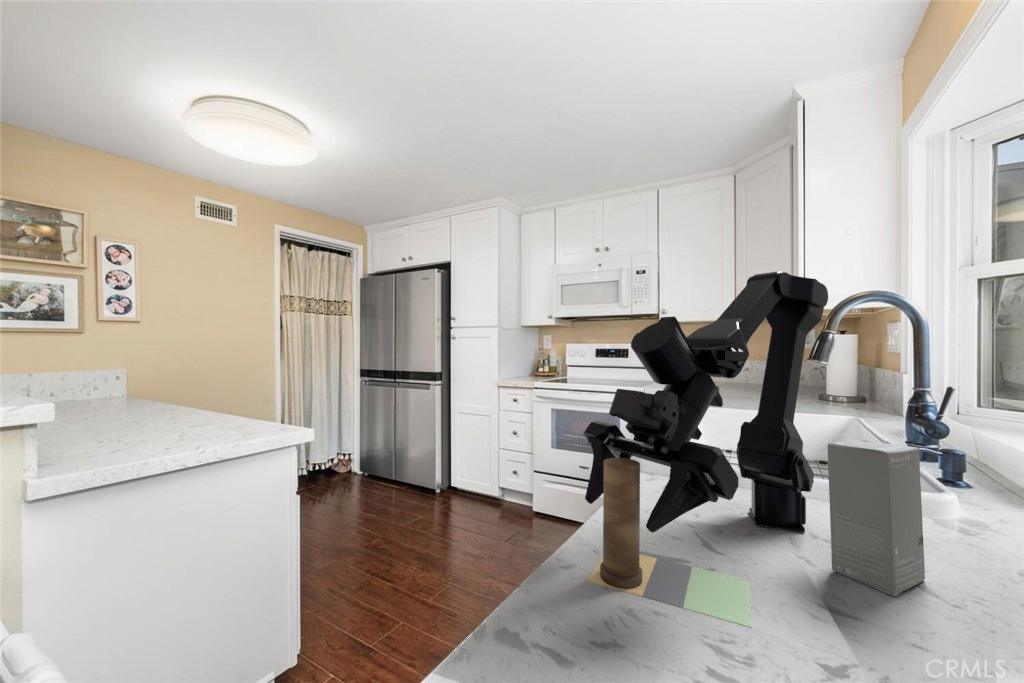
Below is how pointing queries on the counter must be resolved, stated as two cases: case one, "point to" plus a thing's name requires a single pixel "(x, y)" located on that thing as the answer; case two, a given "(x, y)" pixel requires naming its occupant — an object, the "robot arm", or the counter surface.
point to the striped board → (691, 589)
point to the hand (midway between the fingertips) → (616, 514)
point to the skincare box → (876, 514)
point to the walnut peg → (621, 524)
